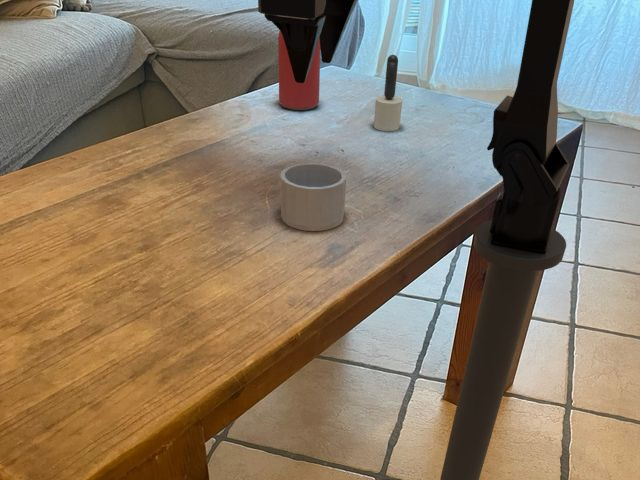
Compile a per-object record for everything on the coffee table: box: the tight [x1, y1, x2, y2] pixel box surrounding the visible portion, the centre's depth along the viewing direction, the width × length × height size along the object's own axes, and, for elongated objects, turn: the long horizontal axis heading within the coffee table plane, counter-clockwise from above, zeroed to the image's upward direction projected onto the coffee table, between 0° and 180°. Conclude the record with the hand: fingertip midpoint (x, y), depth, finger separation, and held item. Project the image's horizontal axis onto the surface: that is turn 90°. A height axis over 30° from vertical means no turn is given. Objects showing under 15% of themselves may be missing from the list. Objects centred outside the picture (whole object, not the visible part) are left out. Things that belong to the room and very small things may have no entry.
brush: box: [373, 54, 403, 132], centre depth 99 cm, size 4×4×10 cm
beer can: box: [277, 30, 321, 111], centre depth 105 cm, size 7×7×12 cm
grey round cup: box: [280, 162, 347, 232], centre depth 77 cm, size 7×7×5 cm
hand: (313, 72), depth 78 cm, fingers open, 9 cm apart
